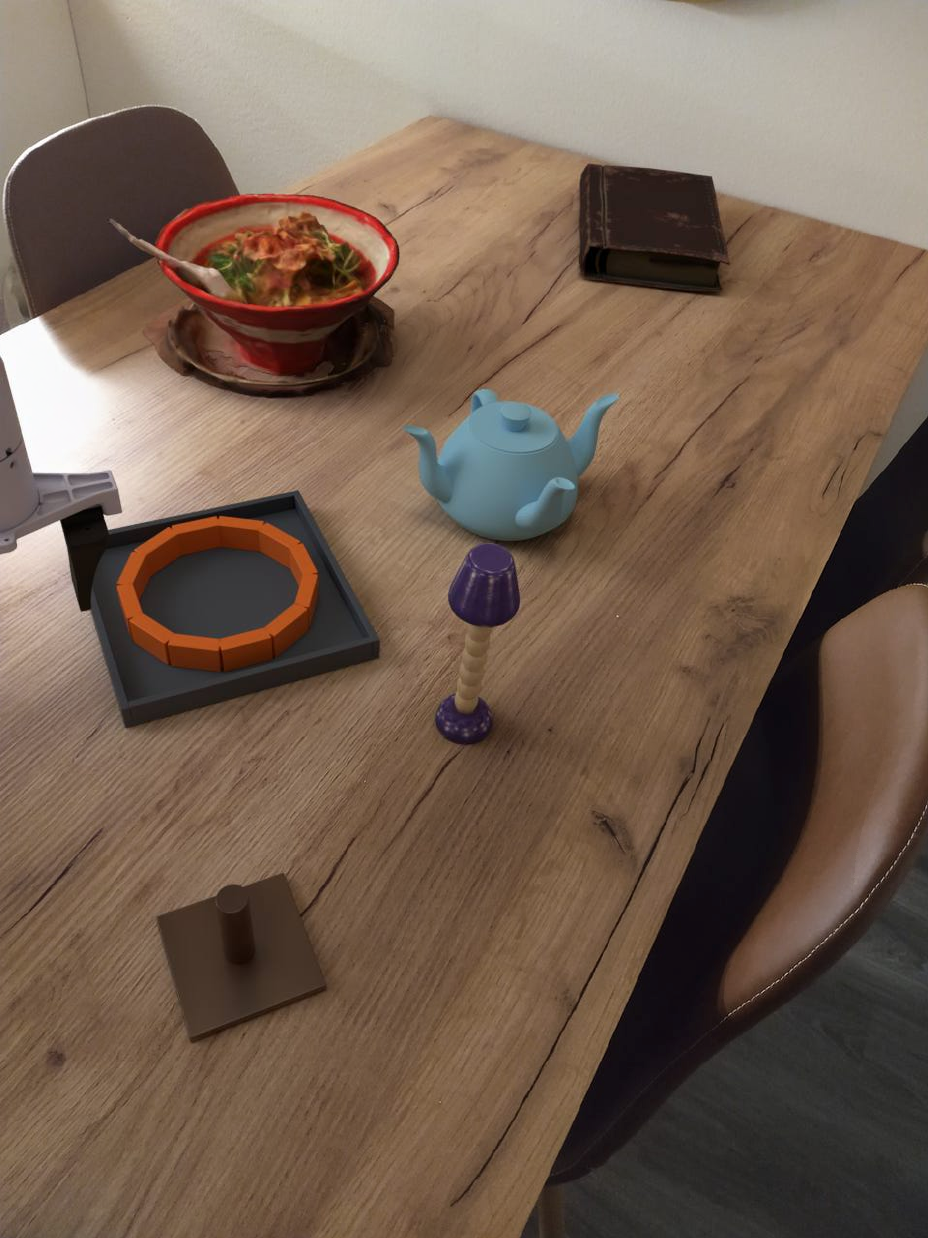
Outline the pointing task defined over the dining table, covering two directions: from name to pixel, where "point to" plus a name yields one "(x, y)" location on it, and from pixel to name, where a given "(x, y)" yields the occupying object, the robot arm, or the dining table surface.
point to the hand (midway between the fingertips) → (21, 615)
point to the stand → (239, 955)
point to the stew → (275, 291)
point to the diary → (650, 228)
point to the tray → (225, 612)
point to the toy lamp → (477, 636)
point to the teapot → (508, 467)
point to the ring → (232, 648)
